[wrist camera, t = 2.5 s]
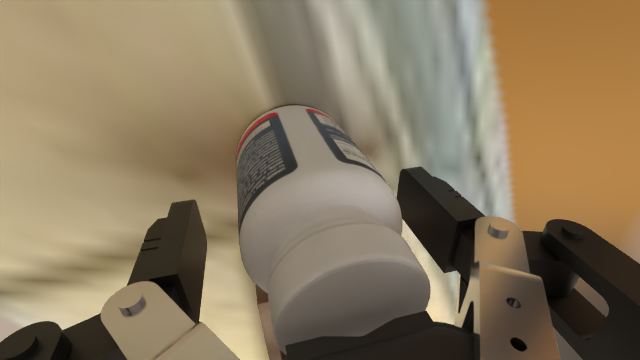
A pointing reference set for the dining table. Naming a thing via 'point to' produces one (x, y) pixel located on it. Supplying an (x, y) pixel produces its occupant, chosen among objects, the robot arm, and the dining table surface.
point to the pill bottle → (321, 230)
